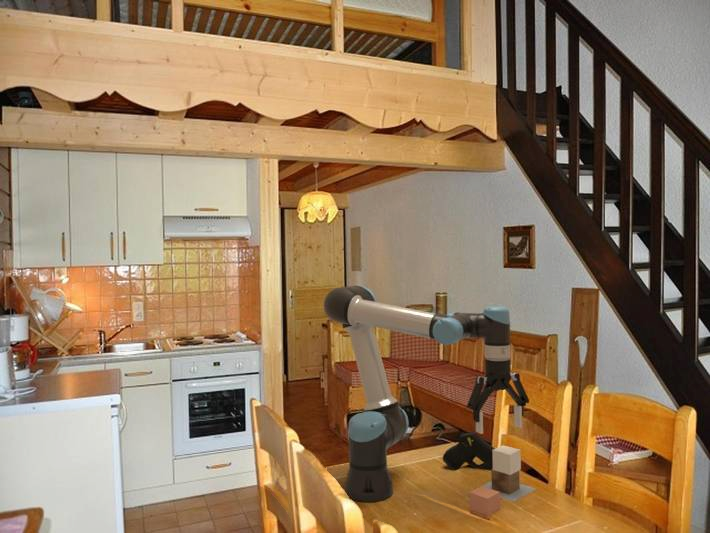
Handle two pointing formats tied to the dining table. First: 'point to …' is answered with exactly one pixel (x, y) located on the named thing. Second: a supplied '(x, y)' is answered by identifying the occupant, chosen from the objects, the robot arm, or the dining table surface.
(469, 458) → the taser
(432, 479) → the dining table surface
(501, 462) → the beige cube
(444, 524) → the dining table surface
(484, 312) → the robot arm
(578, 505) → the dining table surface
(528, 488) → the board
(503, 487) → the brick
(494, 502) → the brick
